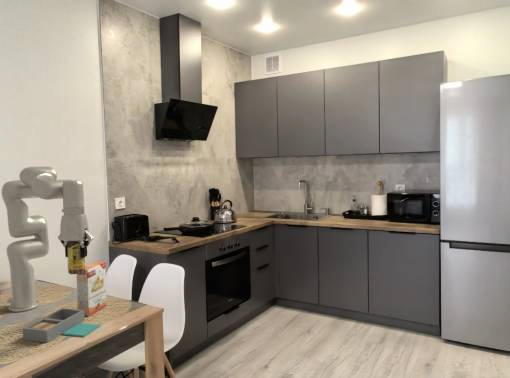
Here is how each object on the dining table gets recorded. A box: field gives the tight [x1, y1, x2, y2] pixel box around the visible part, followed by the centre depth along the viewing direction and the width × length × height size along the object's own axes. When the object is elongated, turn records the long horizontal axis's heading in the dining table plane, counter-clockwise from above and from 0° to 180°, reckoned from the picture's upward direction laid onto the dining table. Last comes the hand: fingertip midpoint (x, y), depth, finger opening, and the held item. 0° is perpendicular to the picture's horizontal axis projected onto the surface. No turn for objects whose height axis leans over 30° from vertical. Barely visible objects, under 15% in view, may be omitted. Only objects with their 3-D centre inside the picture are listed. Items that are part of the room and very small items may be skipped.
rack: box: [22, 307, 86, 343], centre depth 158 cm, size 11×21×4 cm, turn 166°
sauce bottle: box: [67, 241, 86, 275], centre depth 155 cm, size 6×6×20 cm
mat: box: [61, 322, 101, 338], centre depth 157 cm, size 10×10×1 cm
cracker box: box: [76, 261, 108, 317], centre depth 178 cm, size 14×6×21 cm, turn 168°
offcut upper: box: [32, 322, 56, 330], centre depth 152 cm, size 7×5×2 cm
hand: (76, 256), depth 156 cm, fingers closed on sauce bottle, 6 cm apart
